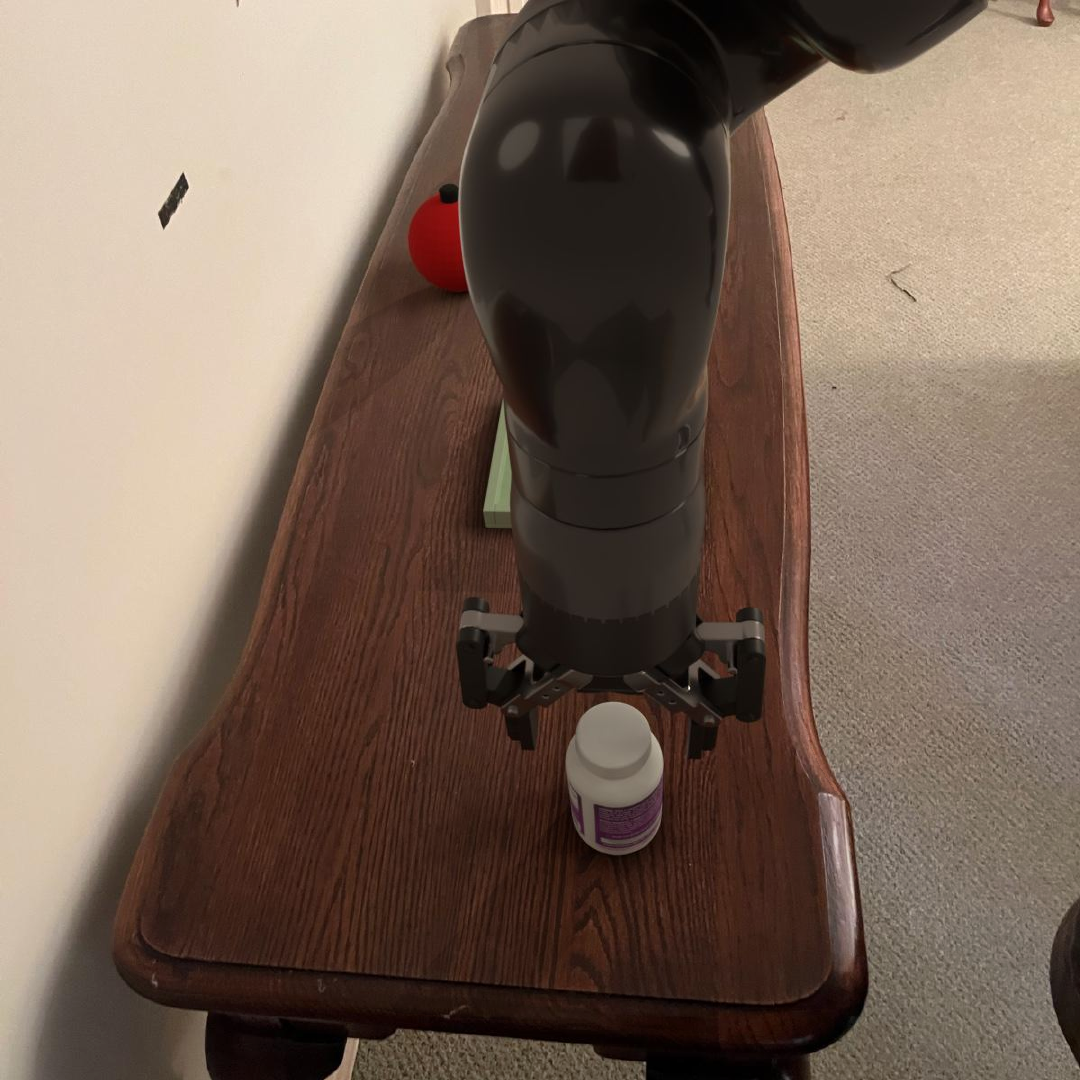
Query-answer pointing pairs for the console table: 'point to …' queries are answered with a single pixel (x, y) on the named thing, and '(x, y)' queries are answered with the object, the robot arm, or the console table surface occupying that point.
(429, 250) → the ornament
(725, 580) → the console table surface
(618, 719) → the pill bottle
